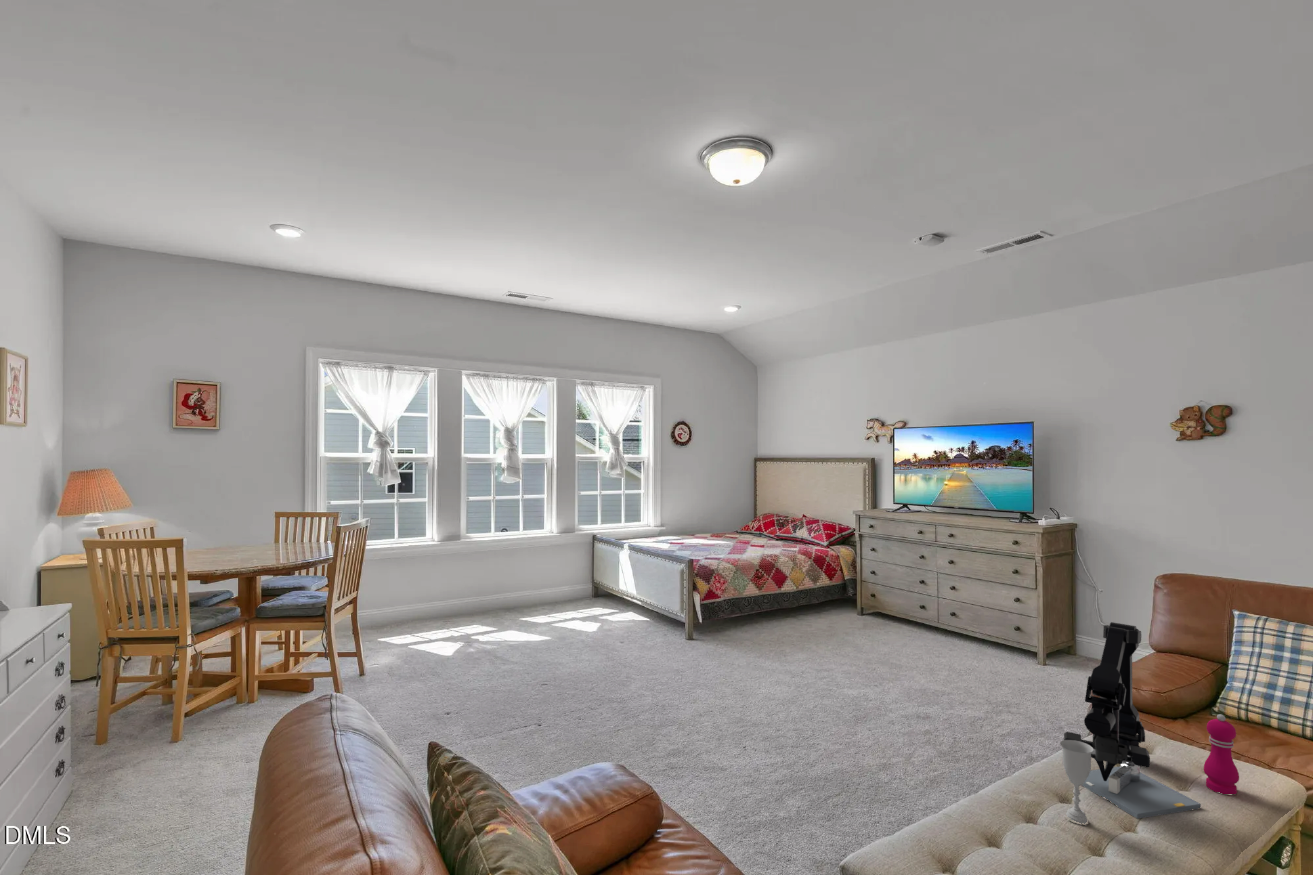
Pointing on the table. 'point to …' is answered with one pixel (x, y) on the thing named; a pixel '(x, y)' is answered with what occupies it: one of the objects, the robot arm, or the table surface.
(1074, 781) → the chalice
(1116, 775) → the lock lever
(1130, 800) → the mount board
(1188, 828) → the table surface
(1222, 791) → the pepper mill
